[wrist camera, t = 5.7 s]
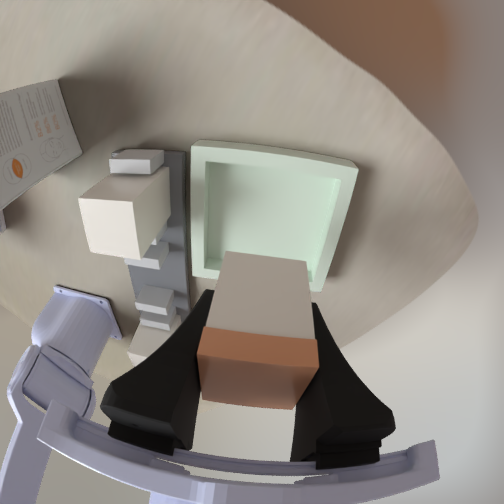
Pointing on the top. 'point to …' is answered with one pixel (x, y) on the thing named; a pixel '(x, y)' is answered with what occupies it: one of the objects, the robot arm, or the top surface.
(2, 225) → the light bulb box
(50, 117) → the small box
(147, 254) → the fuse holder
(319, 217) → the tray
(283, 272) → the block
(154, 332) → the block
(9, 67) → the top surface
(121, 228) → the block
